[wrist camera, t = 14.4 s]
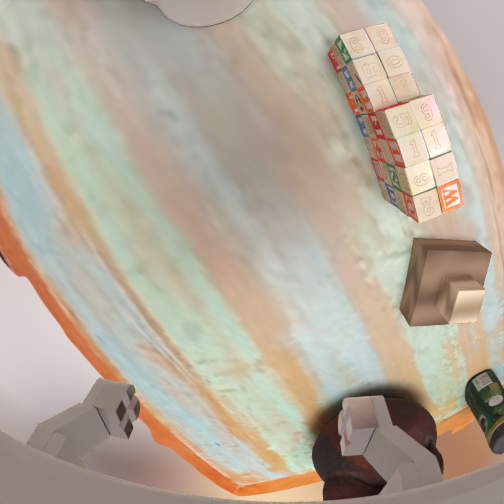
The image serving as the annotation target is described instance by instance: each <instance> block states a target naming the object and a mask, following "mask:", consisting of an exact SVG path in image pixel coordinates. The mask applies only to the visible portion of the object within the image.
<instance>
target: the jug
mask: <svg viewBox="0 0 504 504" xmlns="http://www.w3.org/2000/svg"><path fill="white" fill-rule="evenodd" d="M384 399H385V402H386V405H387V409H388V412H389V415H390V418H391V421H392V425H393V426H398V427H399V428H400V429H401V430H403V431H404V432H405V433H406V434H408V435H409V436H410V437H411V438H413V439H414V440H415V441H417V442H418V443H419V444H420V445H422V446H423V447H424V448H426V449H427V450H428V451H429V452H431V453H432V454H433V455H435V456H436V458H437V461H438V464H439V467H440V470H441V473H442V475H443V470H444V468H443V459H442V456H441V454H440V453H439V451H438V450H437V448H436V447H435V446H436V438H437V430H436V424H435V421H434V419H433V417H432V416H431V414H430V413H429V412H428V411H427V410H426V409H425V408H424V407H423V406H421V405H420V404H418V403H416V402H413V401H410V400H407V399H401V398H384ZM338 418H339V415H338V416H336V417H335V418H334V419H333V420H331V421H330V422H329V423H328V424H327V425H326V426H325V427H324V429H323V430H322V431H321V433H320V434H319V436H318V438H317V439H316V441H315V444H314V447H313V450H312V460H313V464H314V467H315V469H316V471H317V473H318V474H319V476H320V477H321V479H322V480H323V481H324V482H325V484H324V487H323V501H329V500H341V499H351V498H360V497H368V496H375V495H379V494H380V492H381V491H382V490H383V488H384V487H385V486H386V484H387V482H386V481H385V479H384V478H383V477H382V476H381V475H380V474H379V473H378V472H377V471H376V470H375V468H374V467H373V466H372V465H371V464H370V463H369V462H368V461H367V460H366V458H365V457H364V456H363V455H352V456H342V452H341V445H340V442H341V439H342V436H341V435H340V434H339V431H338Z"/></svg>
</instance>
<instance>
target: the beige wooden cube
mask: <svg viewBox="0 0 504 504" xmlns="http://www.w3.org/2000/svg"><path fill="white" fill-rule="evenodd" d="M485 293H486V289H485V288H483V287H482V286H481V285H480V284H479V283H478V282H477V281H476V280H475V279H474V278H473V277H472V276H470V275H443V277H442V281H441V285H440V289H439V293H438V297H437V301H436V304H435V306H436V308H437V309H438V310H439V311H440V313H441V314H442V315H443V317H444V318H445V319H446V321H447V322H448V323H449V324H456V323H468V322H476V320H477V317H478V314H479V311H480V308H481V305H482V302H483V299H484V296H485Z"/></svg>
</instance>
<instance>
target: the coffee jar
mask: <svg viewBox="0 0 504 504" xmlns="http://www.w3.org/2000/svg"><path fill="white" fill-rule="evenodd" d="M466 402H467V404H468V406H469V407H470V409H471V411H472V412H473V414H474V416H475V418H476V419H477V421H478V423H479V425H480V427H481V428H482V430H483V432H484V434H485V437H486V439H487V442H488V445H489V447H490V448H491V450H492V452H493V453H495V454H502V453H504V388H503V387H502V385H501V383H500V381H499V380H498V378H497V376H496V375H495V373H494V372H493V371H491V370H488V371H484V372H482V373H480V374H478V375H477V376H476V377H474V378H473V379H472V380H471V381H470V382H469V384H468V386H467V390H466Z"/></svg>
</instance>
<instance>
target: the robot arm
mask: <svg viewBox="0 0 504 504" xmlns="http://www.w3.org/2000/svg"><path fill="white" fill-rule="evenodd" d="M145 1H147V2H149V3H151V4H154V5H156V6H157V7H158V8H159V9H160V10H161V11H162V13H163V14H164V15H165V16H166V17H168V18H169V19H170V20H172V21H174V22H176V23H179V24H182V25H186V26H195V27H201V26H210V25H215V24H218V23H221V22H224V21H227V20H229V19H231V18H233V17H234V16H236V15H238V14H239V13H240V12H242V11H243V10H244V9H245V8H246V7H247V6H248V5H249V4H250V3H251V2H252V1H253V0H145ZM134 393H135V388H134V386H133V385H131V384H126V383H121V382H117V381H112V380H107V379H103V378H99V379H98V380H97V381H96V382H95V384H94V385H93V387H92V389H91V390H90V392H89V394H88V395H87V397H86V398H85V400H84V402H83V403H82V404H81V403H78V404H77V405H75V406H73V407H71V408H69V409H67V410H65V411H64V412H61V413H60V414H58V415H56V416H54V417H52V418H50V419H48V420H46V421H44V422H42V423H40V424H38V426H37V427H36V429H35V431H34V432H33V434H32V435H31V437H30V438H29V440H28V441H27V443H26V444H25V443H23V442H21V441H19V440H17V439H15V438H13V437H11V436H9V435H8V434H6V433H4V432H2V431H0V504H504V460H503V461H500V462H498V463H495V464H493V465H491V466H488V467H485V468H482V469H480V470H477V471H474V472H471V473H468V474H465V475H462V476H458V477H455V478H452V479H448V480H445V481H444V480H443V477H442V473H441V470H440V467H439V464H438V461H437V458H436V456H435V455H433V454H432V453H431V452H429V451H428V450H427V449H426V448H424V447H423V446H422V445H420V444H419V443H418V442H417V441H415V440H414V439H413V438H411V437H410V436H409V435H408V434H406V433H405V432H404V431H403V430H401V429H400V428H399V427H398V426H393V425H392V421H391V418H390V415H389V412H388V409H387V405H386V402H385V399H384V397H383V396H382V395H378V396H364V397H350V398H344V400H343V403H342V407H343V410H342V411H340V414H339V418H338V431H339V434H340V435H341V436H342V439H341V442H340V445H341V452H342V456H352V455H363V456H364V457H365V458H366V460H367V461H368V462H369V463H370V464H371V465H372V466H373V467H374V468H375V470H376V471H377V472H378V473H379V474H380V475H381V476H382V477H383V478H384V479H385V481H386V482H387V484H386V486H385V487H384V488H383V490H382V491H381V492H380V494H379V495H375V496H368V497H360V498H351V499H341V500H329V501H311V502H261V501H260V502H259V501H243V500H231V499H221V498H212V497H204V496H197V495H190V494H184V493H178V492H173V491H168V490H163V489H158V488H153V487H149V486H144V485H140V484H136V483H132V482H129V481H125V480H121V479H118V478H114V477H111V476H107V475H104V474H101V473H98V472H95V471H91V470H89V469H87V466H86V465H85V464H84V462H83V461H82V460H81V458H82V457H84V456H85V455H86V454H88V453H89V452H90V451H92V450H93V449H94V448H96V447H97V446H98V445H99V444H101V443H102V442H103V441H105V440H106V439H107V438H109V437H110V435H111V436H115V437H120V438H124V439H129V437H130V434H131V432H132V430H133V425H132V422H134V421H135V420H137V418H138V416H139V411H140V403H139V400H138V398H137V397H136V396H135V395H134Z"/></svg>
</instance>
